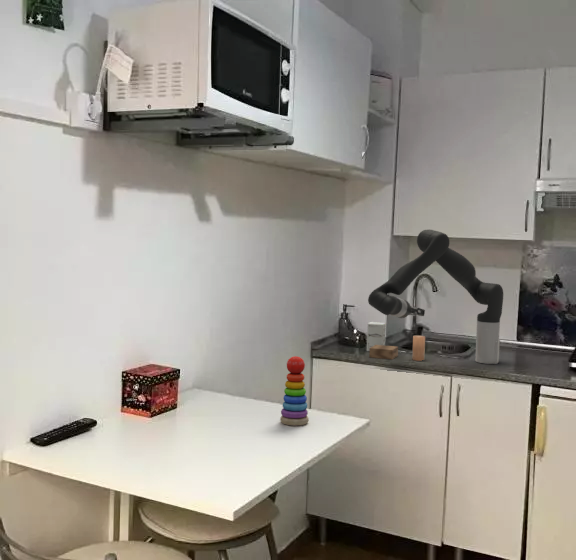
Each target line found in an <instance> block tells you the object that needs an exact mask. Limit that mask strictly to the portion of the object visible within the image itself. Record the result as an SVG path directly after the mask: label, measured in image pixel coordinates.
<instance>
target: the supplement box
mask: <svg viewBox="0 0 576 560" xmlns="http://www.w3.org/2000/svg"><path fill="white" fill-rule="evenodd" d="M386 328H387V323H386V322H381V321H380V322H379V321H377V322H376V321H369V322H367V332H366V333H367V334H366V352H369V351H370V348H371V347H373V346H374V345H385V346H386V330H387V329H386Z"/></svg>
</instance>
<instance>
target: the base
mask: <svg viewBox="0 0 576 560" xmlns="http://www.w3.org/2000/svg"><path fill="white" fill-rule="evenodd" d="M368 353H369V356H368V357H369V358H370V359H371V358H372V359H382V360H383V359H385V360H394V359H395V358H397V357H398V356H399V346H396V345H386V344H385V345H374V346H373V347H371V348H370V351H368Z"/></svg>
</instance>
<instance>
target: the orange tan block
mask: <svg viewBox="0 0 576 560" xmlns="http://www.w3.org/2000/svg"><path fill="white" fill-rule="evenodd" d="M425 349H426V336H425V335H413V336H412V358H411V360H412V361H418V362H423V361H422V360H424V361H425V355H426V354H425Z"/></svg>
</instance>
